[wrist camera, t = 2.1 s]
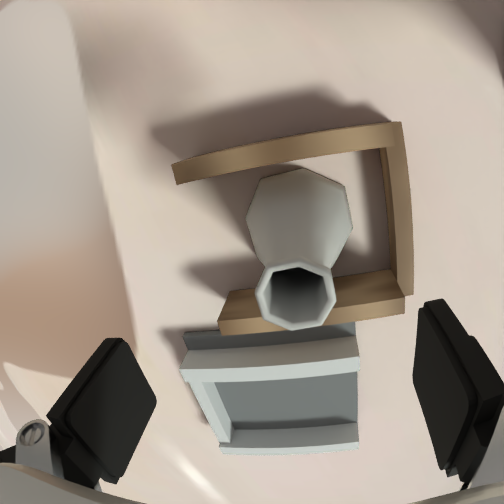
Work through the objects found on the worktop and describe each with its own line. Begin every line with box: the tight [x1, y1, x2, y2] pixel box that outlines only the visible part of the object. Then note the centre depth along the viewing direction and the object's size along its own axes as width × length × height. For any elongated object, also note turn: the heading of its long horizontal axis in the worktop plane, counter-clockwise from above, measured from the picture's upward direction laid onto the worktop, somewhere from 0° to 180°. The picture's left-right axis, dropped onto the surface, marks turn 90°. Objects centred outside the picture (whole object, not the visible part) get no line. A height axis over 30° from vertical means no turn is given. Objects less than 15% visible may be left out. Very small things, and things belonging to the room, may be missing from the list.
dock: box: [179, 322, 360, 455], centre depth 26 cm, size 14×16×3 cm
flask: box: [246, 168, 353, 331], centre depth 17 cm, size 7×7×10 cm
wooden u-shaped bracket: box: [172, 122, 414, 336], centre depth 19 cm, size 13×11×4 cm
